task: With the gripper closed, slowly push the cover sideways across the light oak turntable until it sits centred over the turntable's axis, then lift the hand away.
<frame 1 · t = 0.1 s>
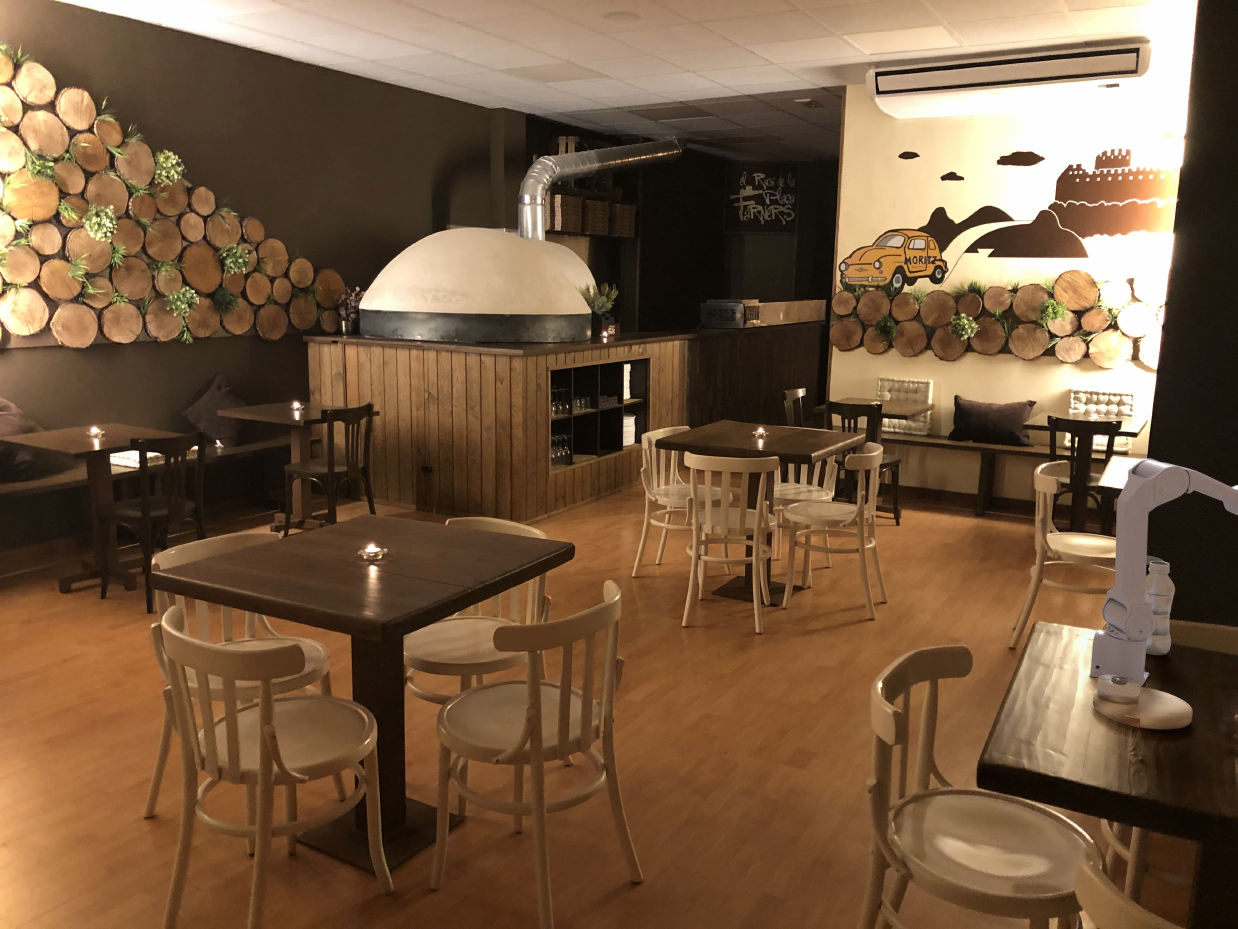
plastic bottle: (1151, 654, 208), on the table
container: (1135, 636, 219), on the table
cover: (1117, 697, 180), point 2 cm above the table, touching turntable
turntable: (1141, 706, 177), point 2 cm above the table, hinge at 0.0°, touching cover
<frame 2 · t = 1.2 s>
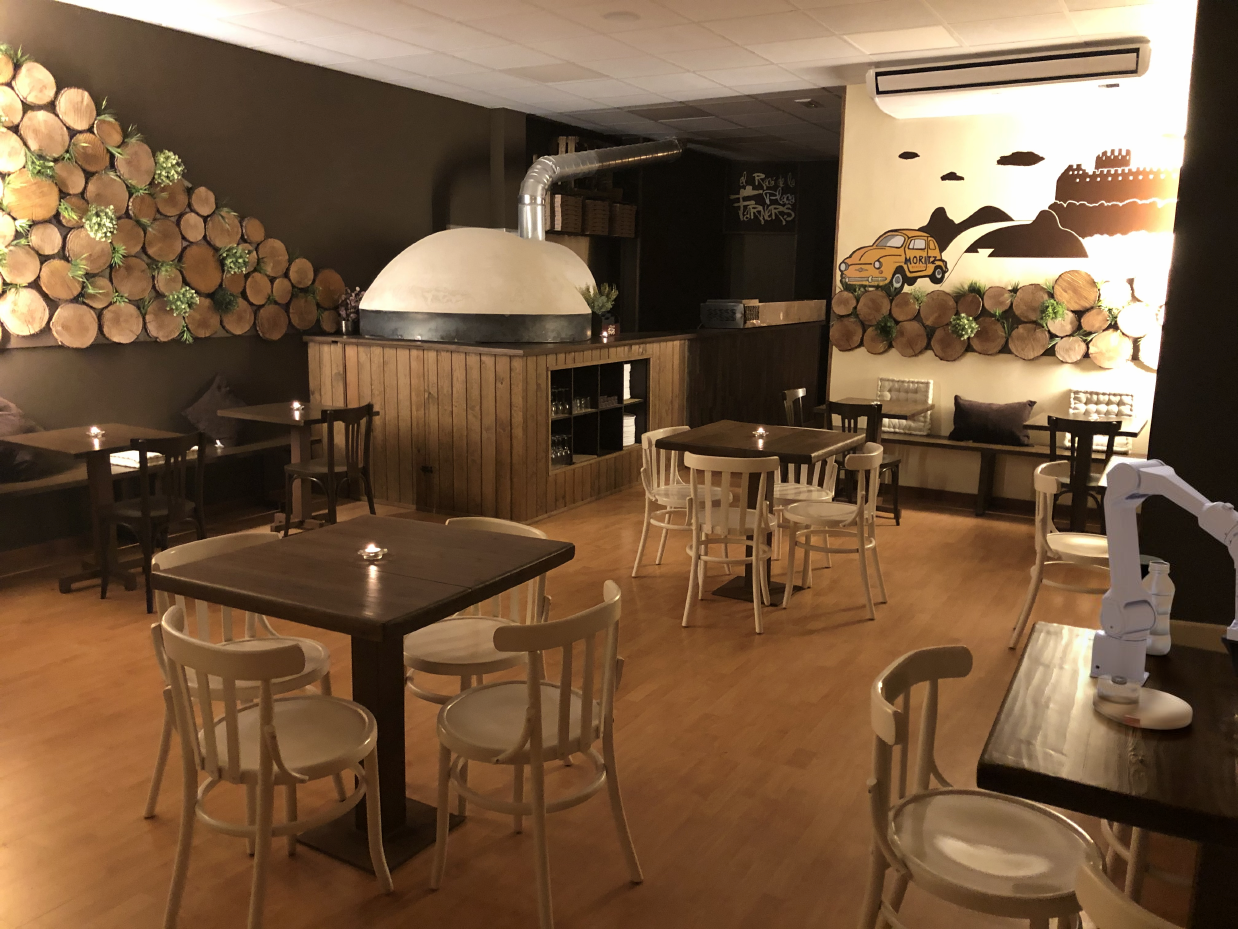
nothing on the table moved.
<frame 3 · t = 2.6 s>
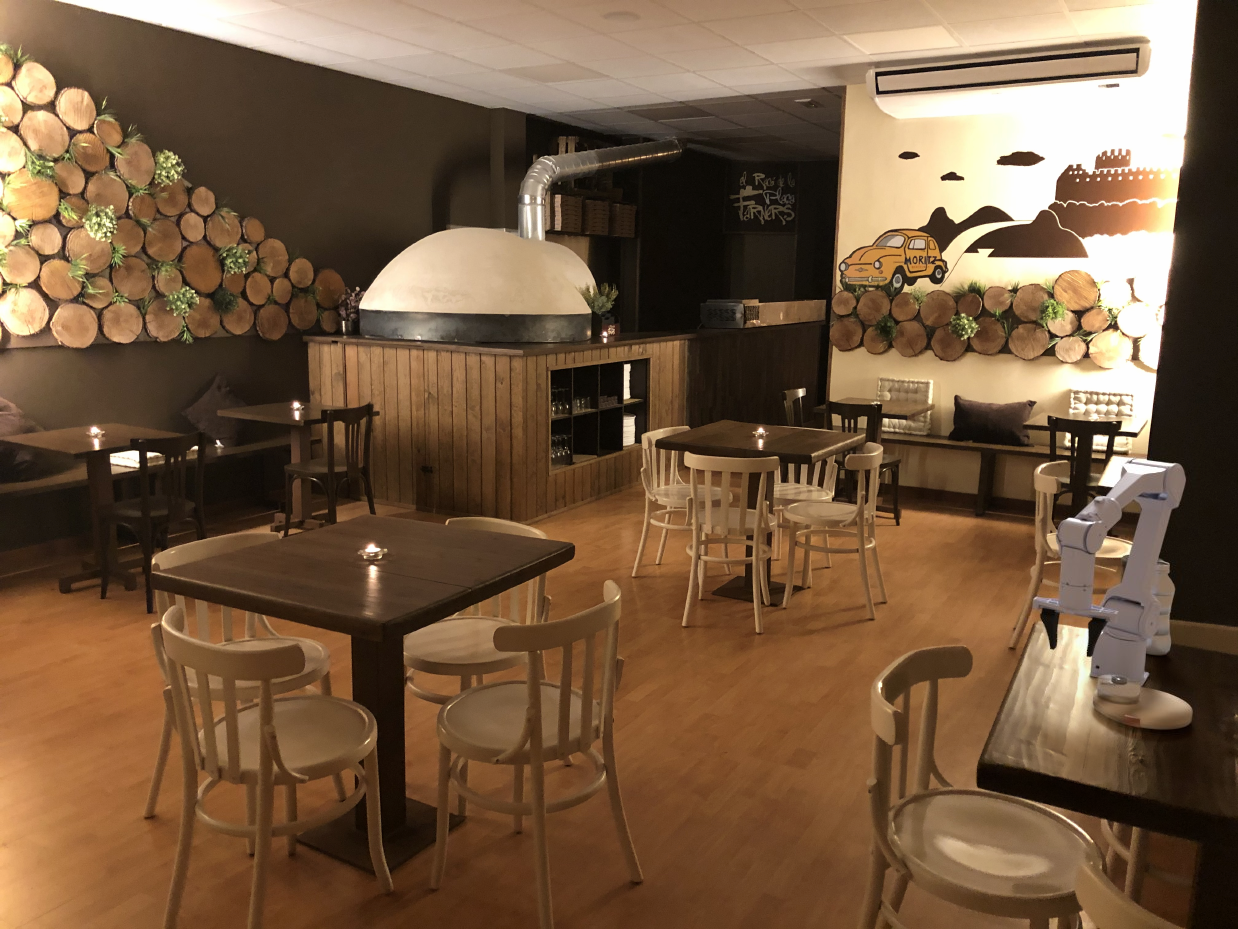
hand: (1071, 651, 184), 9 cm above the table, tool pointing down, fingers open, 6 cm apart
nothing on the table moved.
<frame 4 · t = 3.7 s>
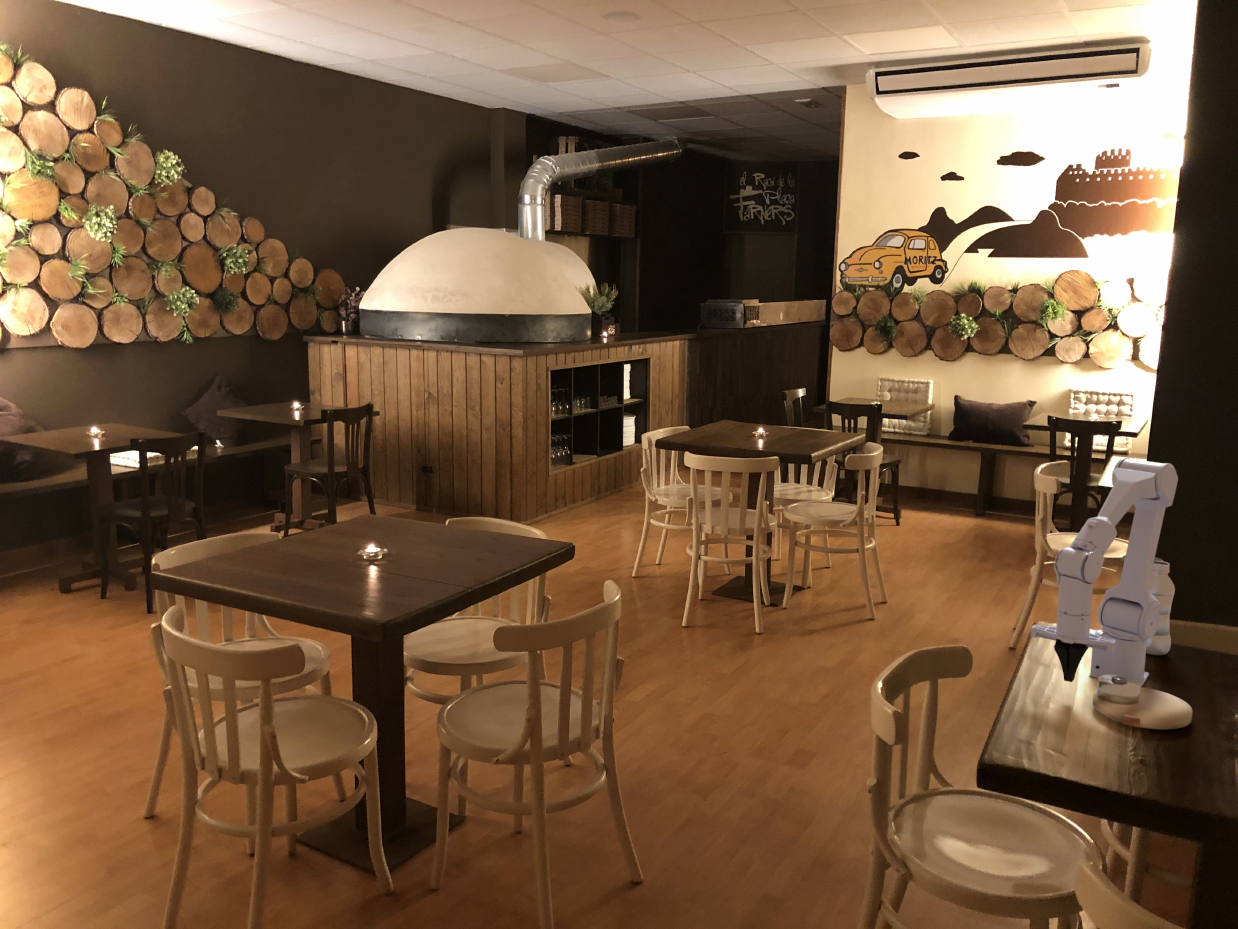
hand: (1069, 679, 185), 4 cm above the table, tool pointing down, fingers closed
nothing on the table moved.
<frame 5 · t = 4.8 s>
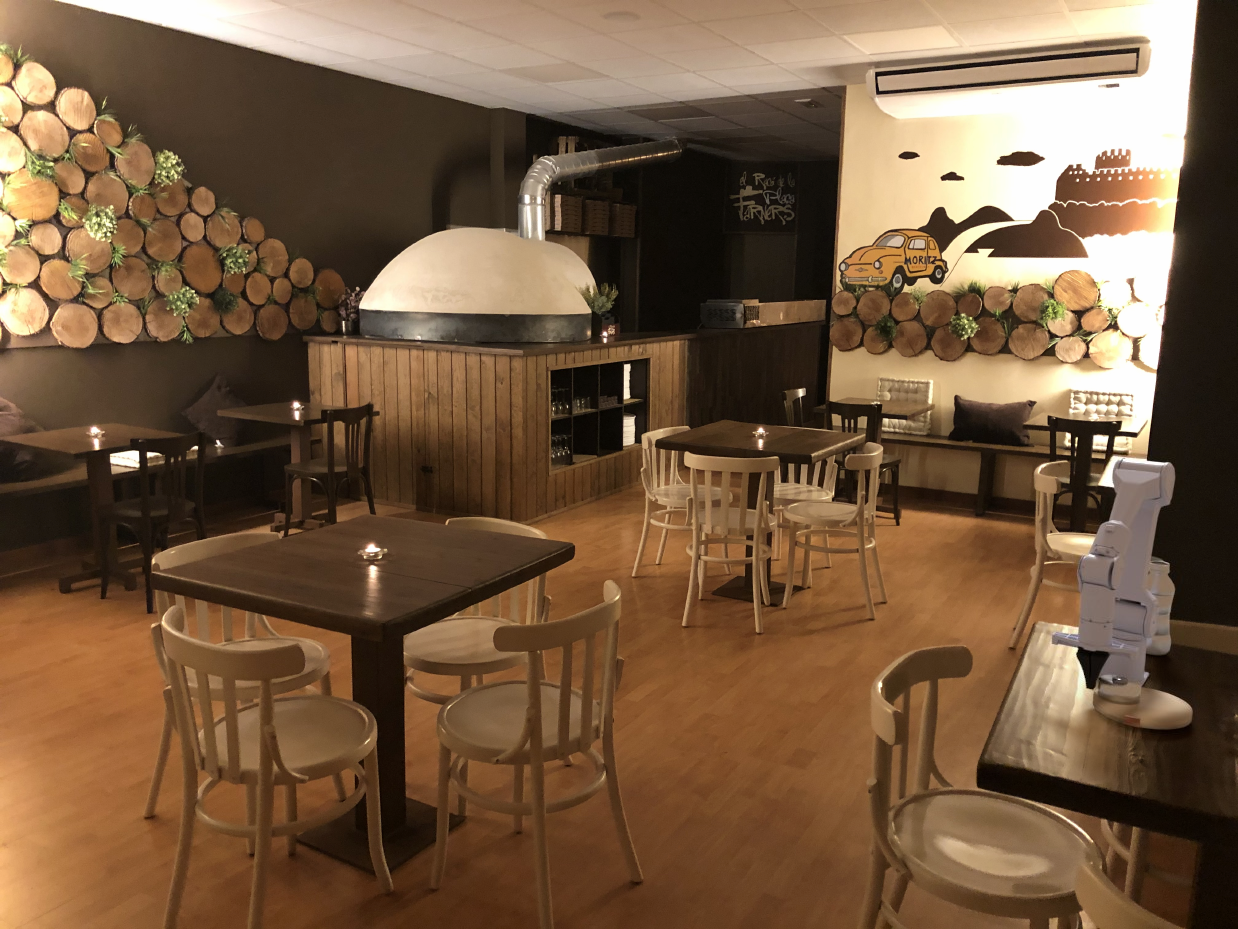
hand: (1091, 687, 182), 3 cm above the table, tool pointing down, fingers closed
cover: (1118, 697, 180), point 3 cm above the table, touching gripper, turntable
everything else where it was.
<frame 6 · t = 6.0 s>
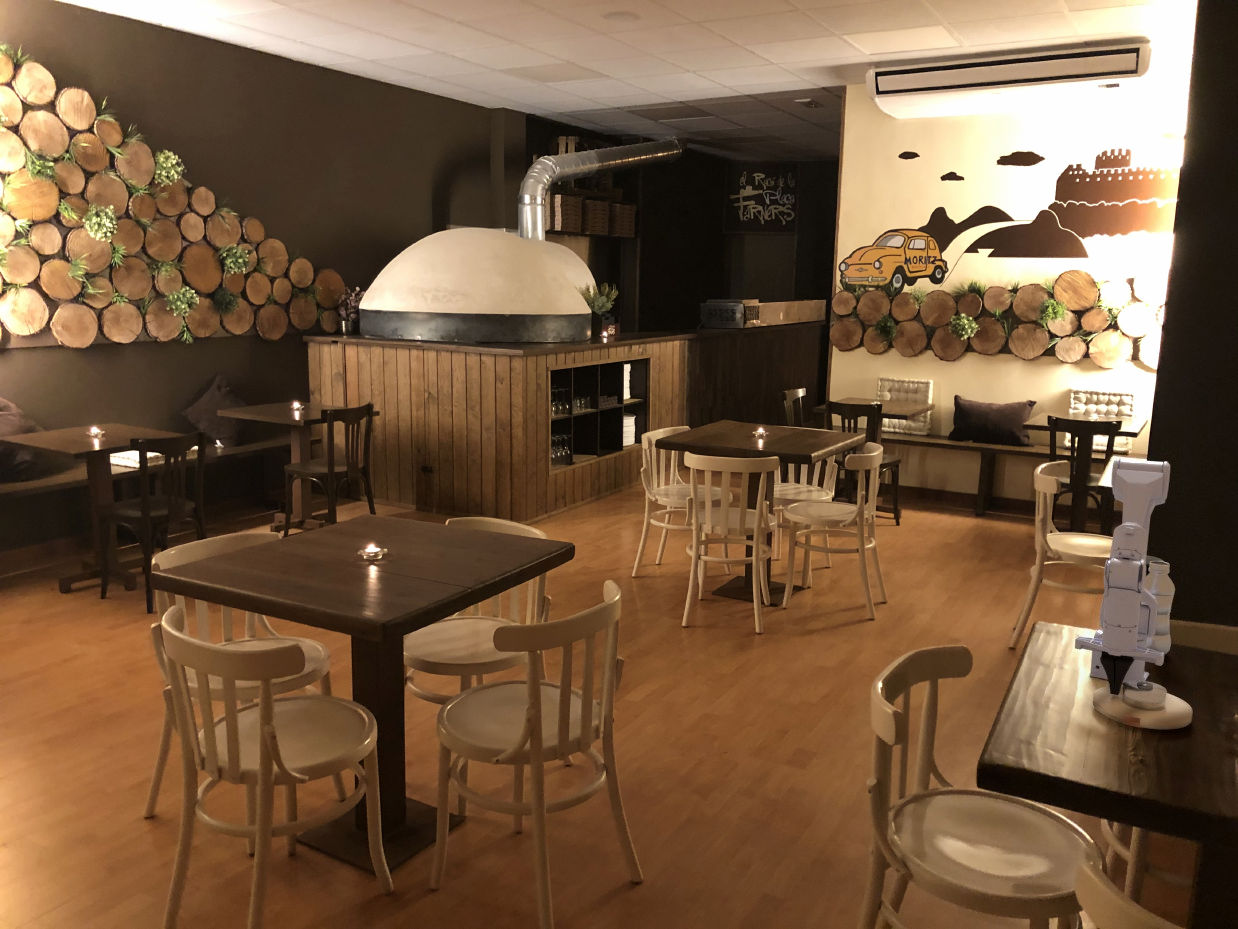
hand: (1115, 692, 180), 3 cm above the table, tool pointing down, fingers closed
cover: (1143, 703, 177), point 2 cm above the table, touching gripper, turntable
everything else where it was.
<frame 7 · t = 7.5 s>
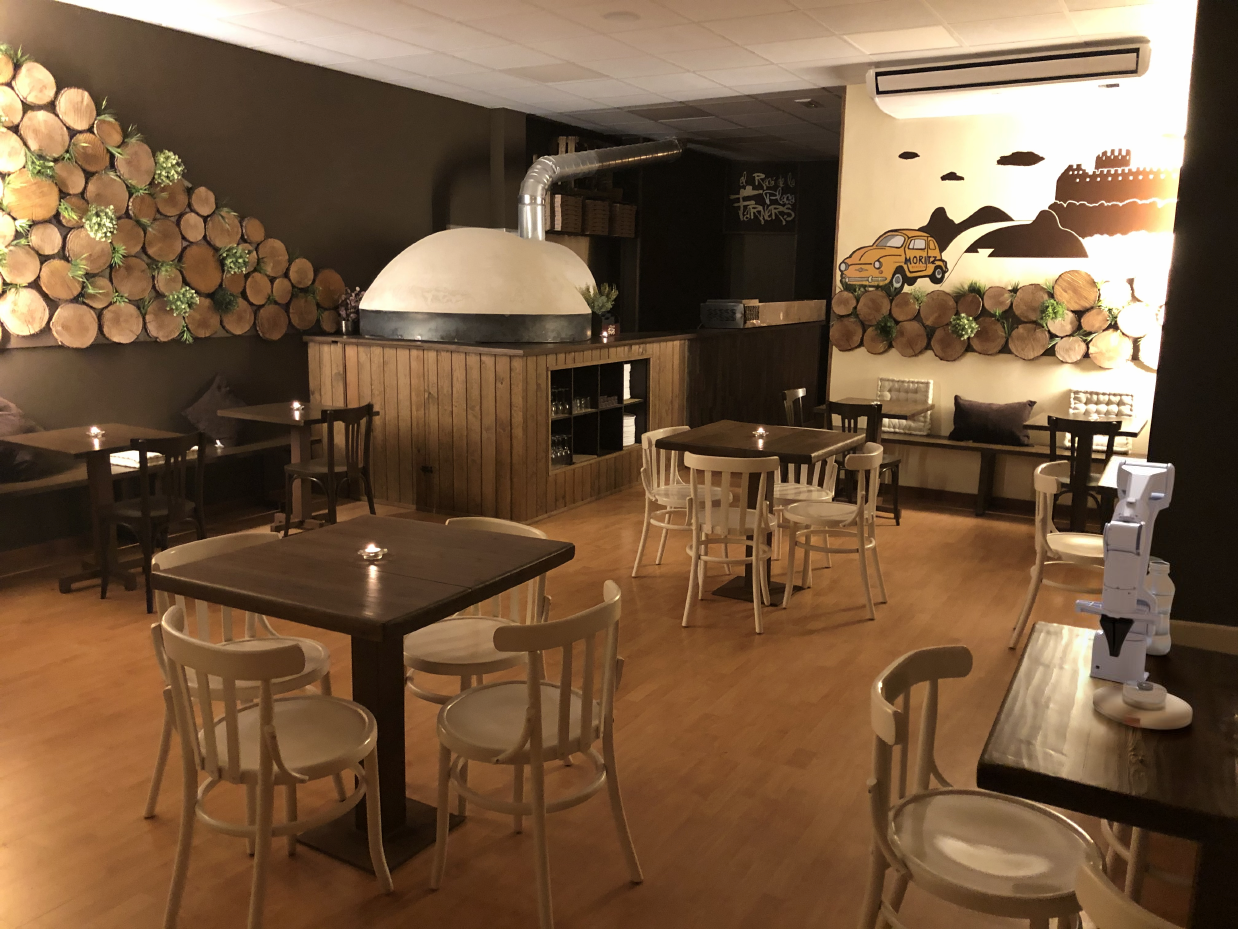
hand: (1114, 655, 182), 9 cm above the table, tool pointing down, fingers closed
cover: (1143, 703, 177), point 2 cm above the table, touching turntable
everything else where it was.
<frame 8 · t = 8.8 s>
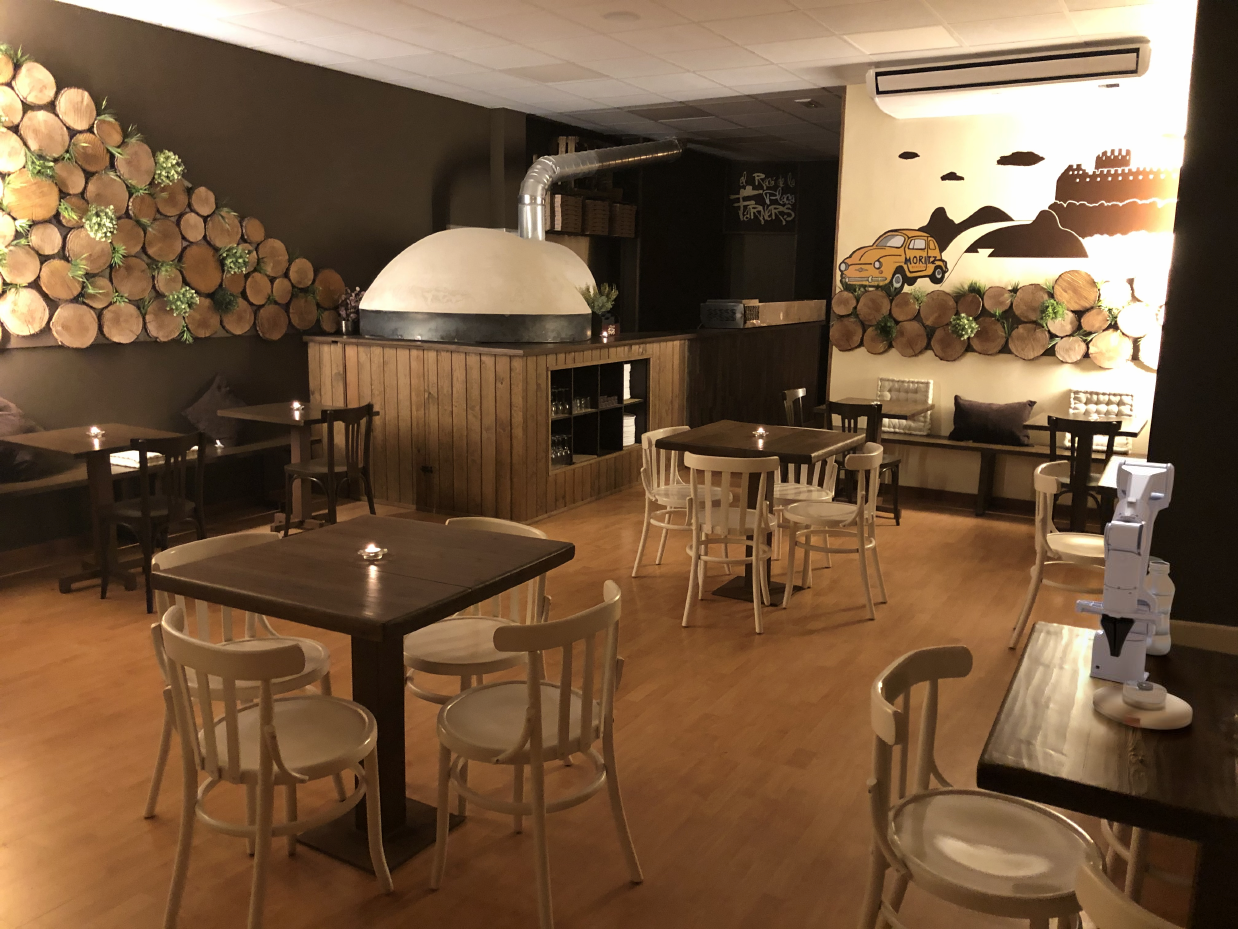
hand: (1115, 655, 182), 9 cm above the table, tool pointing down, fingers closed
nothing on the table moved.
at the end: cover 0.4 cm from the turntable (horizontally); cover point 2.5 cm above the table; cover tilted 0° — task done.
